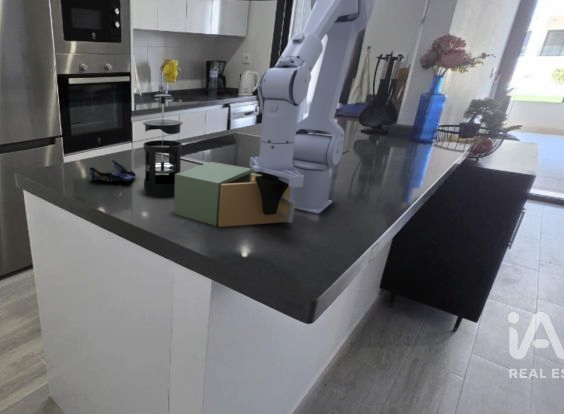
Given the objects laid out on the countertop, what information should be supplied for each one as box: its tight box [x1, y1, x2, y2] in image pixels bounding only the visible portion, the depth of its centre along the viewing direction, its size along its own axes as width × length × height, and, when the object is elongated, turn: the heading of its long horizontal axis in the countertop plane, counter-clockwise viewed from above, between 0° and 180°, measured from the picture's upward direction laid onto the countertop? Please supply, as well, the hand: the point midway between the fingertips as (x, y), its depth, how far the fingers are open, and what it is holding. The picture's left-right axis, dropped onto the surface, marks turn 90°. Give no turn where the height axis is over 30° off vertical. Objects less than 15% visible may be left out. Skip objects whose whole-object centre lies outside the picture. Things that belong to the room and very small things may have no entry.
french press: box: [142, 93, 183, 199], centre depth 89 cm, size 12×9×23 cm
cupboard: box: [173, 161, 253, 227], centre depth 79 cm, size 10×14×9 cm
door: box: [217, 182, 295, 228], centre depth 70 cm, size 4×14×8 cm, turn 99°
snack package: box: [88, 159, 137, 187], centre depth 102 cm, size 12×6×12 cm
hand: (269, 213), depth 71 cm, fingers closed
